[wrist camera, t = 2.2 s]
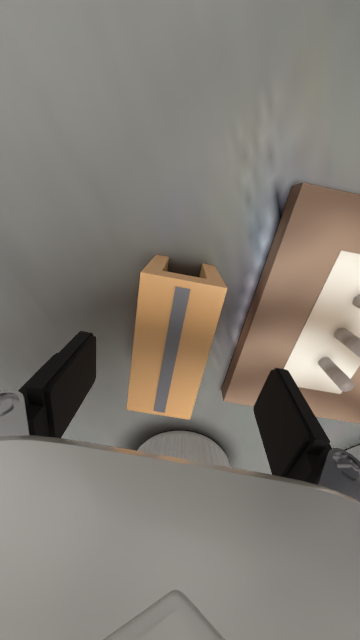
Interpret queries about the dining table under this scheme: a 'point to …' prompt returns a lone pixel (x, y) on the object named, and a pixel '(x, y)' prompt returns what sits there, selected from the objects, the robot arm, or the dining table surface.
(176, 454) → the ramekin
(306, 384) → the pin board
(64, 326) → the dining table surface
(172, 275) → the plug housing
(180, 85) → the dining table surface
